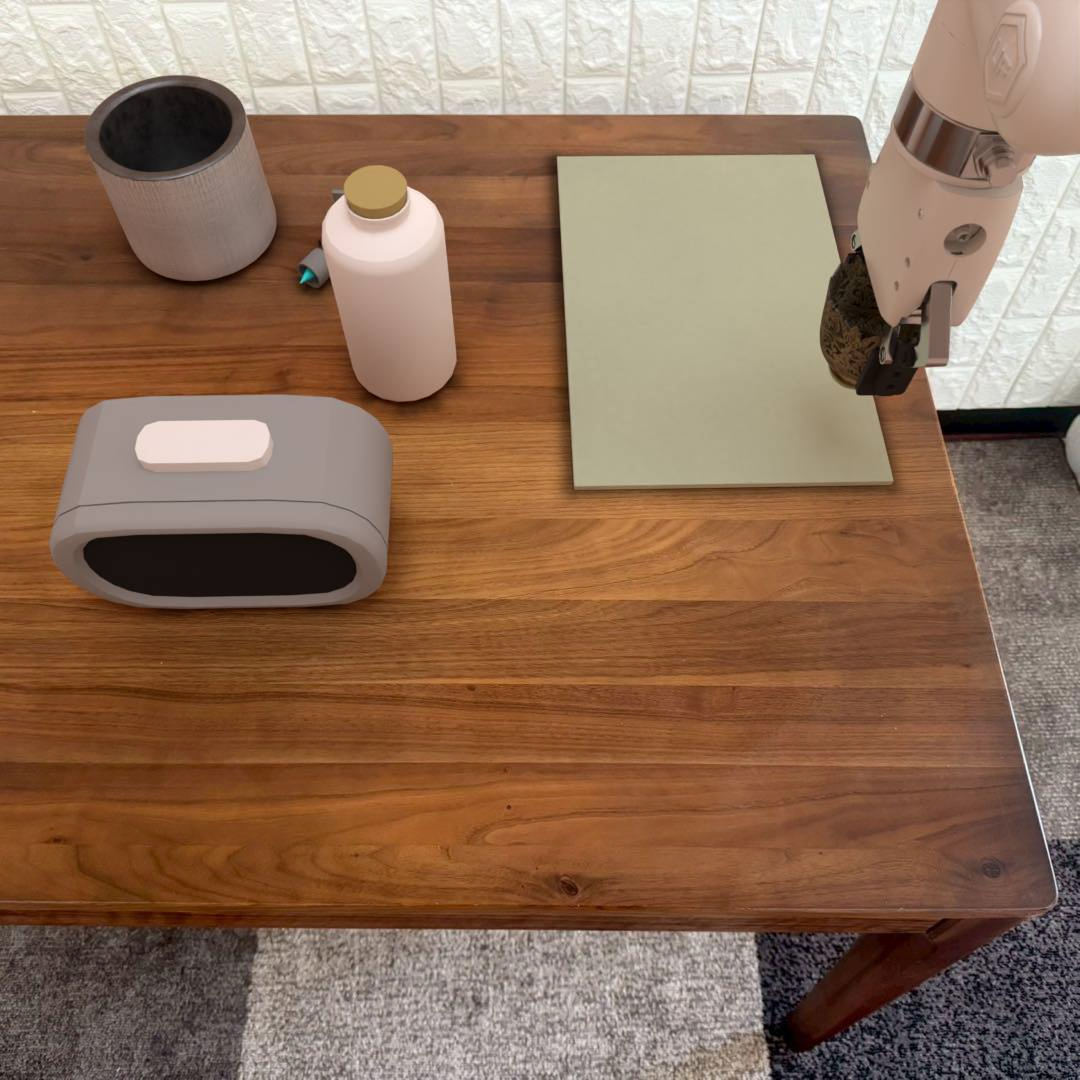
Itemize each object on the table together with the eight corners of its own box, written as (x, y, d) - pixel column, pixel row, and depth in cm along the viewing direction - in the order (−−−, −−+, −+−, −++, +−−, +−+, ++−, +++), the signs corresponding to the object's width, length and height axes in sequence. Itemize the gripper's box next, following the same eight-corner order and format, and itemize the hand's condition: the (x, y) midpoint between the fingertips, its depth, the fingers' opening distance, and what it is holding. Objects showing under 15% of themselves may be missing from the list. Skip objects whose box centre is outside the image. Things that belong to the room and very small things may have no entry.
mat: (891, 485, 72) (894, 481, 72) (573, 490, 72) (574, 486, 71) (812, 159, 90) (814, 154, 89) (556, 161, 89) (556, 156, 89)
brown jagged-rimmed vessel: (801, 325, 70) (832, 242, 63) (904, 341, 69) (947, 258, 62) (795, 407, 66) (827, 328, 59) (904, 424, 65) (949, 346, 58)
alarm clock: (98, 618, 66) (6, 520, 54) (123, 500, 71) (44, 387, 59) (397, 612, 67) (369, 515, 55) (403, 496, 71) (379, 383, 60)
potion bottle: (431, 421, 75) (405, 248, 59) (335, 388, 76) (286, 211, 60) (474, 344, 78) (461, 162, 63) (382, 315, 80) (347, 129, 64)
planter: (112, 218, 85) (58, 107, 75) (243, 166, 88) (207, 54, 78) (167, 309, 80) (117, 203, 70) (303, 250, 83) (274, 141, 73)
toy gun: (287, 286, 81) (274, 243, 77) (374, 203, 86) (366, 158, 82) (378, 335, 79) (370, 293, 75) (462, 246, 84) (459, 202, 79)
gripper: (1096, 237, 45) (951, 449, 61) (1001, 12, 54) (894, 249, 69) (939, 238, 45) (833, 451, 60) (867, 13, 53) (791, 250, 69)
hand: (866, 342), depth 65 cm, fingers closed on brown jagged-rimmed vessel, 7 cm apart
